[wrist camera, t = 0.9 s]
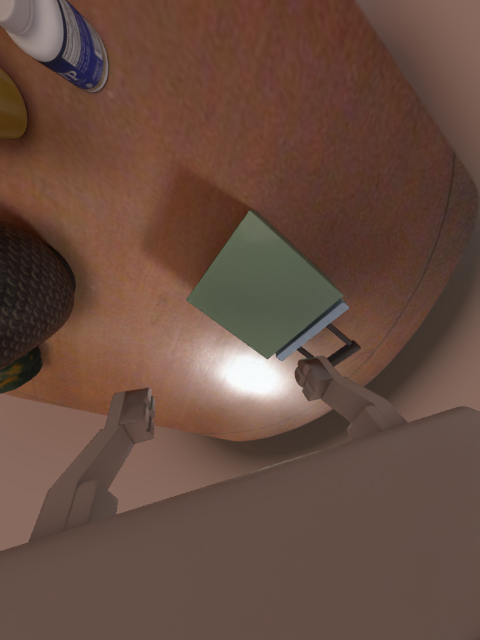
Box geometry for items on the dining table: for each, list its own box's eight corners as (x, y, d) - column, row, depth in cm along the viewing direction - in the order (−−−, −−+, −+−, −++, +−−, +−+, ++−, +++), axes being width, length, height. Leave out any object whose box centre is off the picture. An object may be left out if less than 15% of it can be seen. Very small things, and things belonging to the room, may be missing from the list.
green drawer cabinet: (326, 276, 29) (343, 295, 22) (267, 331, 35) (267, 359, 28) (254, 209, 26) (249, 209, 19) (203, 281, 32) (185, 300, 25)
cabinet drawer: (361, 314, 30) (382, 337, 25) (304, 357, 35) (310, 384, 30) (270, 231, 26) (270, 237, 21) (220, 293, 31) (210, 311, 26)
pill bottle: (61, 79, 22) (-48, 9, 15) (61, 7, 20) (-72, -123, 12) (107, 104, 23) (26, 50, 15) (113, 37, 20) (17, -68, 13)
